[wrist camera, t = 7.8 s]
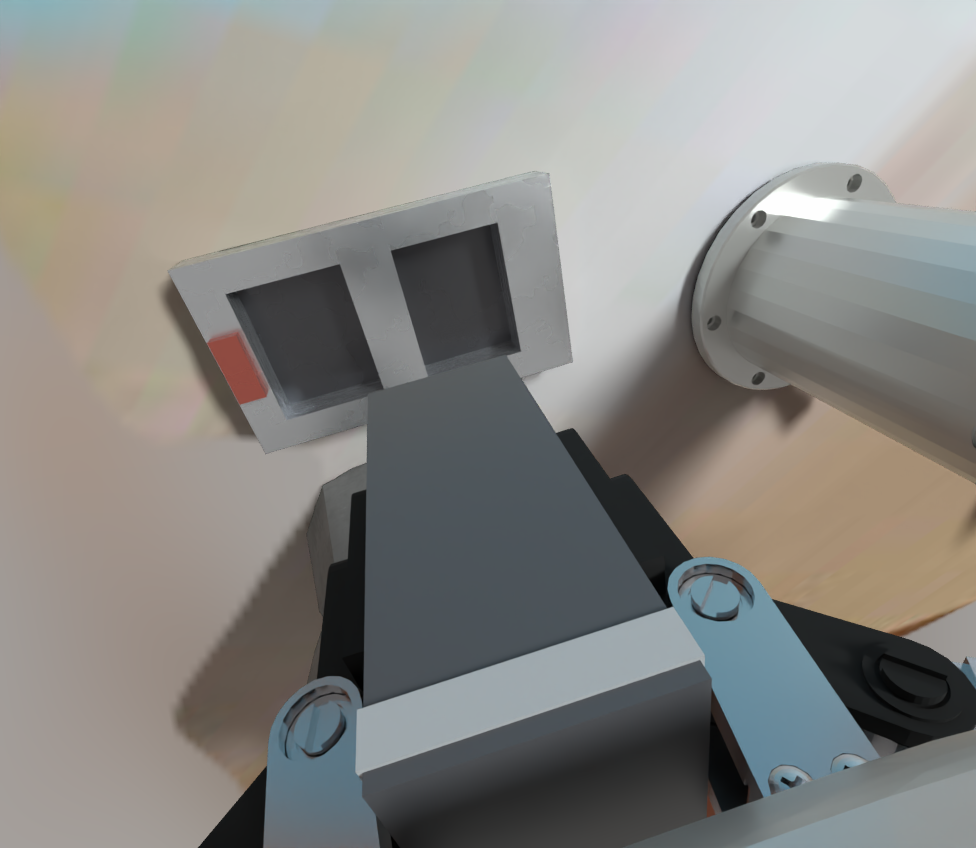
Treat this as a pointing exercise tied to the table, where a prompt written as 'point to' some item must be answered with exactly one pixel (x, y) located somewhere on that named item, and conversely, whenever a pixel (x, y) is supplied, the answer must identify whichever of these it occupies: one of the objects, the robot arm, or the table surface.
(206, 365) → the table surface
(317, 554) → the coffeepot
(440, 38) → the table surface
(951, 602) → the table surface
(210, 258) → the power strip
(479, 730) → the plug
